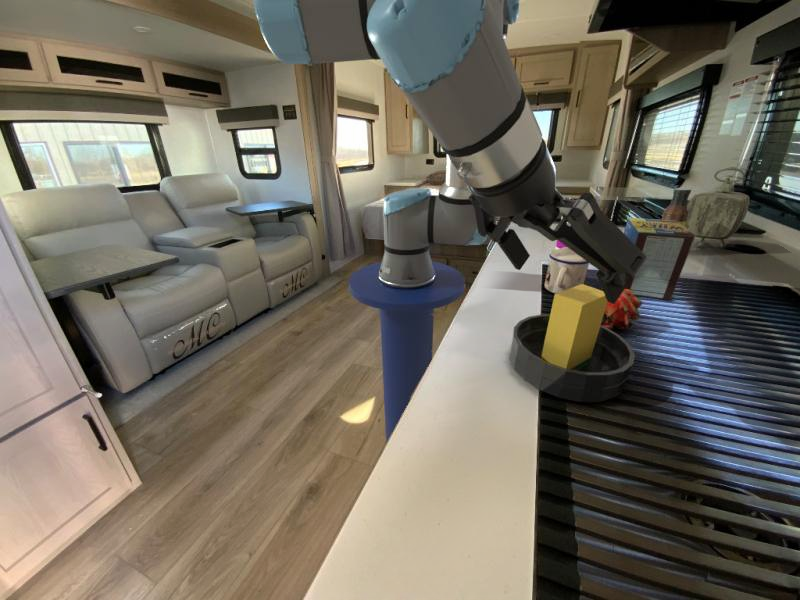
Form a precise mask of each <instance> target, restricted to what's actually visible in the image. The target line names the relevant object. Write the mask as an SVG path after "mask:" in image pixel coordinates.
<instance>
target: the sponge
mask: <svg viewBox="0 0 800 600" xmlns="http://www.w3.org/2000/svg"><path fill="white" fill-rule="evenodd" d="M601 290H602V289H601ZM601 290H600V289H598V288H595V287H593V286H589V285H587V284H585V283H584V284H580V285H578V286H575V287H572V288H570V289H567V290H565V291H562V292H559V293H557V294H555V293H554V296H553V299H552V306H551V310H550V313H549V314H550V319H549V323H548V328H547V333H546V337H545V342H544V347H543V351H542V356H541V359H543V360H545V361H546V362H548V363H551V364H554V365H557V366H560V367H563V368H566V369H571V370H577V371H578V370H580V369H581V368H583V367H585V366H586V365H588V364H589V362H590V359H591V356H592V353H593V349H594V346H595V342H596V339H597V336H598V332H599V329H600V326H601V322H602V319H603V315H604V312H605V309H606V305H607V302H608V301H607V299H606V297H605V294H604V292H603V291H601Z"/></svg>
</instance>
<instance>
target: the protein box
mask: <svg viewBox="0 0 800 600" xmlns="http://www.w3.org/2000/svg"><path fill="white" fill-rule="evenodd" d="M623 233H624V234H625V235H626V236H627V237H628V238H629V239H630V240H631V241H632V242H633V243H634V244H635V245H636V246H637V247H638V248H639V249H640V250H641V251H642V252H643V253H644V254H645V255H646V257H647V258H646V260H645V261H644V263H643V264H642V266H641V267H640V269H639V270H638V271H637V273H636V274H635V276H634V277H633V279H628V280H627V281H626V284H627V286H626V288H625V289H629V290H632V291H633V292H634V295H636V296H637V297H644V298H650V299H658V300H666V301H672V298H673V295H674V293H675V290H676V287H677V285H678V282H679V280H680V277H681V275H682V272H683V269H684V267H685V265H686V261H687V259H688V256H689V254H690V251H691V248H692V246H693V243H694V241H695V238H696V237H695V235H694V234H693V233H691V232H690V231H689V230H687V229H686V228H685V227H684V226H682V225H681V224H679V223H678V222H677V221H675V220H661V219H659V218H658V219H656V218H644V217H643V218H641V217H640V218H639V217H628V218H627V221H626V224H625V228H624V230H623Z"/></svg>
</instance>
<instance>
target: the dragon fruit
mask: <svg viewBox="0 0 800 600" xmlns="http://www.w3.org/2000/svg"><path fill="white" fill-rule="evenodd" d="M601 291H603V289H601ZM642 305H643V301H642V300H641V298H639V296H636V295H634V292H633V291H632V290H629V289H624V291H623V292H622V294H621V295H620V297H619V298H618V299H617V301H616V302H615V304H612V303H609V302H607V305H606V309H605V312H604V315H603V319H602V322H601V326H604V327H606V328H608V329H610V330H611V331H613V330H614V329H615V328H617V329H618V330H624V329H632V328H634V327H636V326H637V323H636V322H635V321H637V320H639V319H640V318H641V315H640V312H639V310H638V309H639V308H641V306H642Z"/></svg>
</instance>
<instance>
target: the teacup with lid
mask: <svg viewBox="0 0 800 600" xmlns="http://www.w3.org/2000/svg"><path fill="white" fill-rule="evenodd" d="M548 261H549V262H548V265H547V271H546V274H545V281H544V288H545V289H546V290H547V291H548V292H550V293H553V294H554V295H555V294H557V293H559V292H562V291H565V290H567V289H570V288H572V287H575V286H578V285H580V284H584V285H585V280H586V277H587V273H588V269H589V265H590V263H589V262H587V261H586V260H584V259H583V258H582V257H580V256H579V255H578V254H576V253H575V252H573V251H572V250H571V249H569V248H568V247H564V248H561V249H556V250H555V249H553V250H551V252H550V253H549V260H548Z"/></svg>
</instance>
